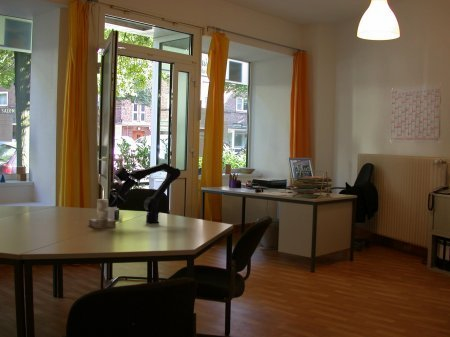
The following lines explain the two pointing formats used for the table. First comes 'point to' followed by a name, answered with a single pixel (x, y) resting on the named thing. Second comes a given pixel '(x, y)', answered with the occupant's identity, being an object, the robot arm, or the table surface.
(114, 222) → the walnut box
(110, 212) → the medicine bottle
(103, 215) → the birch block
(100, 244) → the table surface
